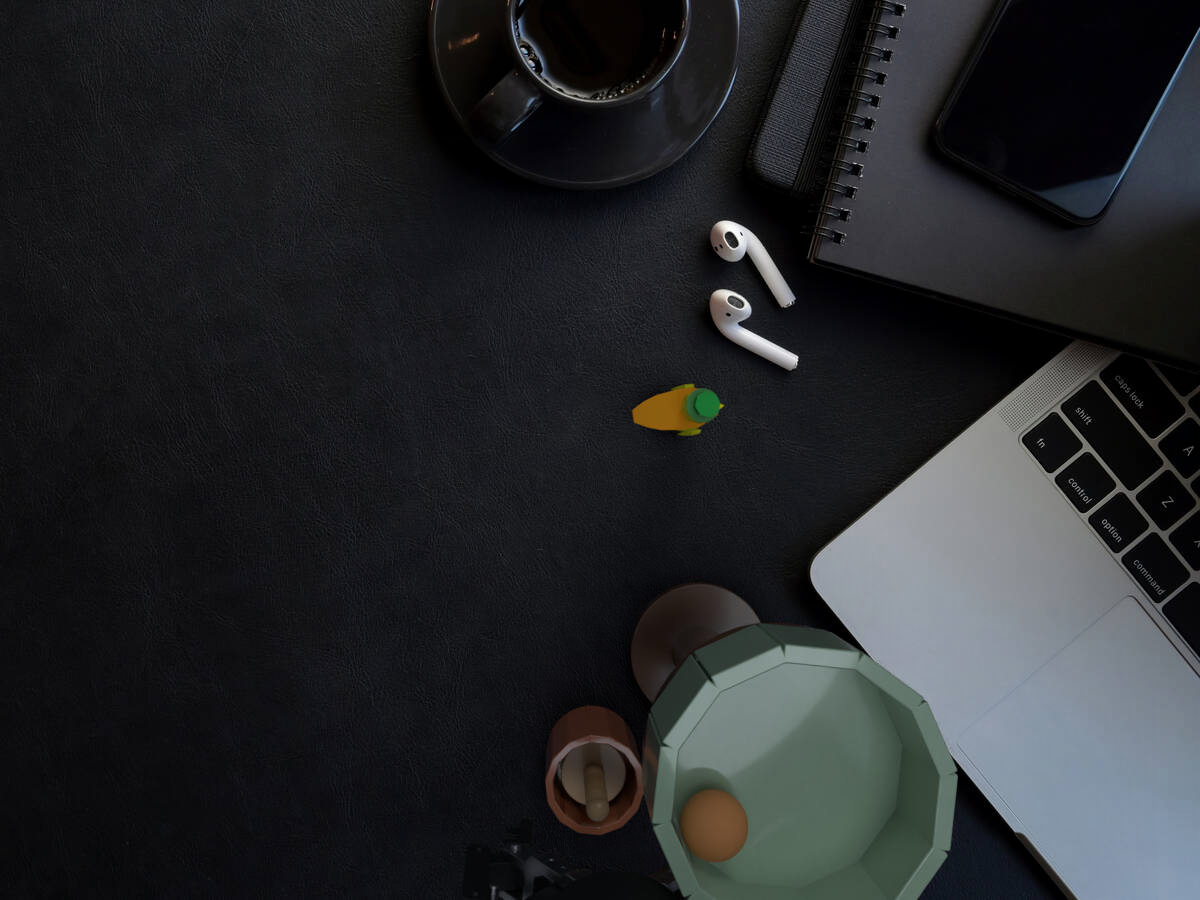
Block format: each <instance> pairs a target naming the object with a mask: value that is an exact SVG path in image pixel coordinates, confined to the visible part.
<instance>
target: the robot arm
mask: <svg viewBox="0 0 1200 900" xmlns="http://www.w3.org/2000/svg"><path fill="white" fill-rule="evenodd" d="M533 827H534V820H533V819H523V818H520V822H519V827H514V826H513V827H512V826H510V827H508V828H507V829H506V830H505V838H504V844H503V847H502V849H501V850H500V851H497V852H492V849H491V847H489V846H488V845H485V844H481V843H473V844H470V845H468V846H467V847H466V849H465V851H466V852H465V860H464V868H463V869H464V870H463V876H462V878H463V879H462V887H461V888H462V889H461V895H460V900H686V897H683V896H682V894H681V892H680V889H679V887H678V885H677V882H676V880H675V878H674V876H673V873H672V871H671V869H670V867H669V864H668V863H667V864H666V865H663V866H662V867H660V868H658V869H656V870H655V871H653V872H652V873H650V874H648V875H645V874H643V873H639V872H636V871H635V872H634V871H630V870H623V869H621V870H620V869H611V870H609V869H608V870H601V871H596V872H592V871H591V870H589V869H587V868H584V869H579V868H577V867H575V866H574V865H573V864H571V863H569V862H568V861H567V860H565V859H564V858H562V857H561V856H559V855H557V854H556V853H555V852H554V851H545V852H541V853H538V852H536V851H534V850H533V849H532V839H533Z"/></svg>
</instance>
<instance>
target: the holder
mask: <svg viewBox="0 0 1200 900" xmlns="http://www.w3.org/2000/svg"><path fill="white" fill-rule="evenodd" d="M588 743H599V744H609V745H611V746H612V747H614V748H616V749H617V750H619V751H620V752H622V753H624V762H625V767H626V778H625V782H624V785H623V787H622V789H621V791H620V792H619V793H618V795H617V796H616V797H615V798H613V799H612V800H611V801H609V802H608V803H609V814H608V816H607V817H606V818H605V819H604V820H603V821H599V822H596V821H593V820H591V819H590V818H589V817H588V815H587V812H586V805H585V804H581V803H579V802H577V801H576V800H574V799H573V798H572V797H571V796H570V795H569V794H568V793H567V792H566V790H565V788H564V786H563V783H562V779H561V768H560V761H561V760H562V759H563V758H564V757H565V756H566V755H567V754H568V753H569V752H570V751H571V750H572V749H575V748H577V747H580V746H583V745H585V744H588ZM545 747H546V748H545V770H544V771H545V772H544V773H545V775H544V783H545V789H546V790H545V792H546V801H547V804H548V806H549V808H550V809H551V810H552V812H553V813H554V815H555V817H556V819H557V820H558V821H559V822H560V823H561V824H562V825H565V826H567V828H569V829H571V830H573V831H575V832H576V833H578V834H585V835H596V836H601V835H605V834H607V833H611V832H613V831H616V830H618V829H622V827H624V826H625V825H626V824H627V823H628V822H629V821H630V820H631V819H632V818H633V816H634V815H636V814H637V812H638V811H639V809H640V807H641V802H642V800H643V797H644V792H643V788H642V782H641V777H642V768H643V765H642V760H641V757H640V753H639V750H638V747H637V743H636V739H635V736H634V734H633V732H632V730H631V729H630V727H629V725H628V723H627V722H626V721H625V720H624V718H623V717H621V716H620V715H619V714H618V713H616V712H615V711H613V710H611V709H609V708H607V707H603V706H599V705H583V706H579V707H577V708H574V709H572V710H570V711H568V712H566V713H565V714H564V715H562V716H561V717H560V718H559V719H558V720H557V722H556V723H555V724H554V726H553V728H552V729H551V731H550V734H549V736H548V740H547V744H546V746H545Z"/></svg>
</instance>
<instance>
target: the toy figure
mask: <svg viewBox="0 0 1200 900" xmlns="http://www.w3.org/2000/svg"><path fill="white" fill-rule="evenodd" d="M724 406H725V405H724V404H723V403H721V400H720V399H719V397H718V395H717V394H716V393H715V392H714V391H713V390H712V389H709V388H705V387H704V388H701V387H700V388H697V387H695V384H694V383H686V384H681V385H678V386H675V387H673V388H671V389H670V391H667V392H663V393H658V394H656V395H654V396H652V397H650V398H648V399H646V400H644V401H643V402H641V403H640V404H639V405H637V406H636V407H634V408H633V409H632V420H633V423H634V424H637V425H640V426H642V427H645V428H648V429H649V428H650V429H654V430H659V431H677V432H678V433H677V436H682V437H687V436H688V437H689V436H697V435H699V434H701V432H702V431H701V429H700V427H702V426H703V425H706V423H708V422H711V421H712V420H714V419H715V418H717V416H719V412H720V410H721V409H722V408H724Z"/></svg>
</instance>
